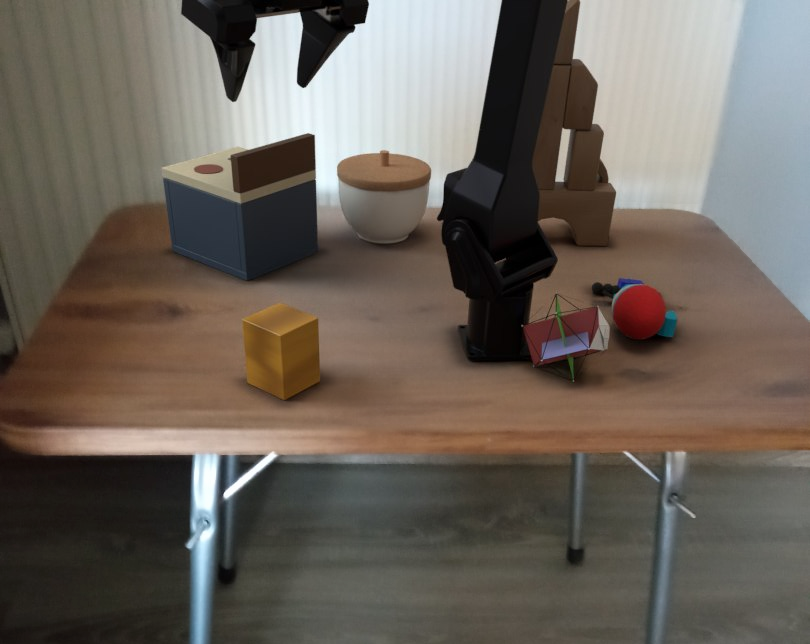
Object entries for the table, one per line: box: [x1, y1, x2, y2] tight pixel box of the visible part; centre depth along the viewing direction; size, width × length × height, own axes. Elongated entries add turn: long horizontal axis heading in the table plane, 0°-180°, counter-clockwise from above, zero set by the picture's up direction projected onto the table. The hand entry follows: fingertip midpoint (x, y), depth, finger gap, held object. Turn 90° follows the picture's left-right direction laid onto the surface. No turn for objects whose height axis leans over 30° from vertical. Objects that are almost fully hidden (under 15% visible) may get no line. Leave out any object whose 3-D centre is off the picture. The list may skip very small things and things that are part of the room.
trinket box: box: [336, 149, 432, 245], centre depth 103 cm, size 11×11×9 cm
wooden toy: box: [532, 0, 617, 247], centre depth 100 cm, size 16×7×25 cm, turn 92°
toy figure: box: [591, 277, 678, 340], centre depth 89 cm, size 8×5×15 cm
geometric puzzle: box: [522, 292, 611, 383], centre depth 80 cm, size 7×7×8 cm
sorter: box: [162, 177, 319, 282], centre depth 98 cm, size 12×11×8 cm
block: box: [241, 302, 321, 401], centre depth 76 cm, size 4×4×6 cm
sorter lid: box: [161, 132, 317, 204], centre depth 94 cm, size 12×11×4 cm
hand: (267, 92), depth 91 cm, fingers open, 9 cm apart
